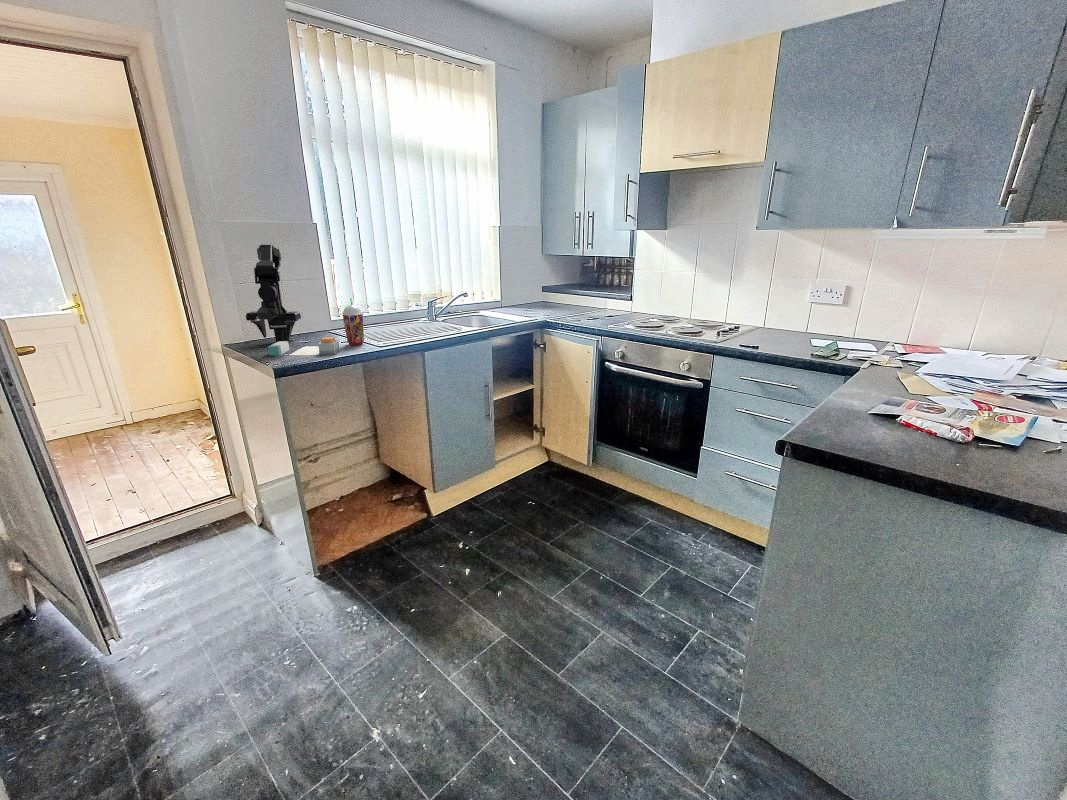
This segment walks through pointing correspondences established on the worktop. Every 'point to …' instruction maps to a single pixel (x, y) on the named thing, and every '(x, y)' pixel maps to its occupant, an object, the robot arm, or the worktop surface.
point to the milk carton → (278, 348)
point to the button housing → (329, 348)
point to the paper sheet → (307, 351)
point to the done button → (328, 340)
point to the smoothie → (353, 324)
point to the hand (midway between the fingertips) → (277, 337)
